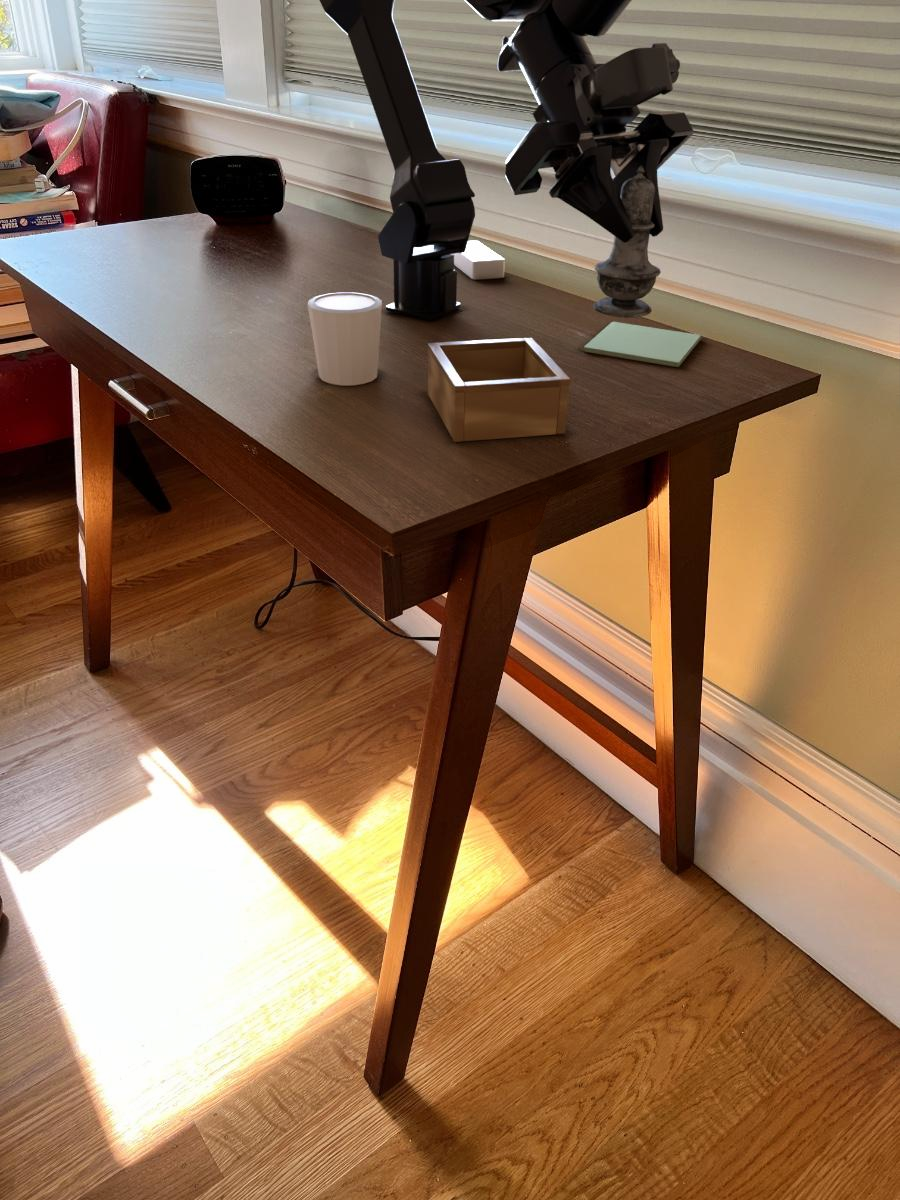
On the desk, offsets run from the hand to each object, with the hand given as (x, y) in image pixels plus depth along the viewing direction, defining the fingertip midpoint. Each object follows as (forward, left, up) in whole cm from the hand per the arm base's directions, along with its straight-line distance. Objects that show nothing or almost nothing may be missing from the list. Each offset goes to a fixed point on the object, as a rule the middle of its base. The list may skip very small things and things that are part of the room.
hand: (644, 236), depth 79 cm
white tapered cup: (-23, -13, -14) cm, 30 cm away
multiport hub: (-34, +29, -14) cm, 47 cm away
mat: (-3, +12, -13) cm, 18 cm away
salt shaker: (-1, 0, -7) cm, 7 cm away
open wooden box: (-7, -13, -13) cm, 20 cm away
